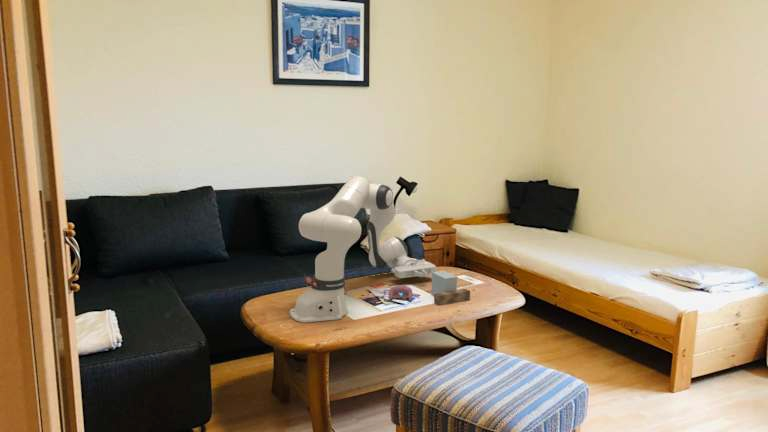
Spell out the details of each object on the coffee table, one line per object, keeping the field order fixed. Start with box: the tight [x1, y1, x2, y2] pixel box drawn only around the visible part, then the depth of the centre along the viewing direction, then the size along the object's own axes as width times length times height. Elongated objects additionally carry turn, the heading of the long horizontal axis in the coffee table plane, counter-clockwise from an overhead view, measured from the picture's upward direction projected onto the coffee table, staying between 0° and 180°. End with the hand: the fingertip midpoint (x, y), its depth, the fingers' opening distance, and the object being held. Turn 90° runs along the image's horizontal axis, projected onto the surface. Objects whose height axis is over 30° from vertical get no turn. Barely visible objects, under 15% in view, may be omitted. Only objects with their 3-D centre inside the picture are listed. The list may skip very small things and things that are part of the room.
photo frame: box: [455, 274, 486, 290], centre depth 265 cm, size 15×1×18 cm
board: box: [433, 288, 471, 306], centre depth 239 cm, size 16×3×4 cm, turn 118°
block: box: [430, 270, 458, 297], centre depth 244 cm, size 6×10×10 cm, turn 28°
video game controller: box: [388, 284, 413, 302], centre depth 240 cm, size 10×5×7 cm, turn 85°
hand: (423, 275), depth 258 cm, fingers closed
